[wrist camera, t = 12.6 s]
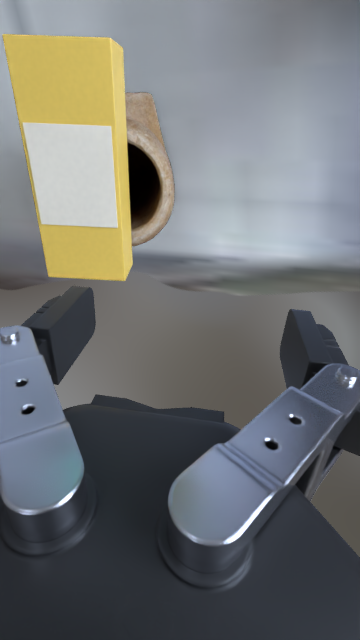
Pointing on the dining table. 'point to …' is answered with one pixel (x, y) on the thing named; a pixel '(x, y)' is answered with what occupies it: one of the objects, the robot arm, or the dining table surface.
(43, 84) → the packet
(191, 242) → the dining table surface
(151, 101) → the stone cup
